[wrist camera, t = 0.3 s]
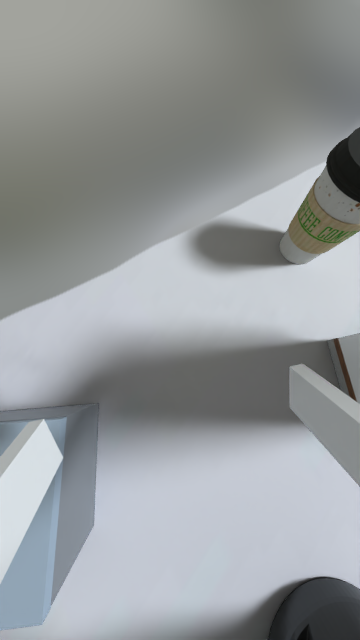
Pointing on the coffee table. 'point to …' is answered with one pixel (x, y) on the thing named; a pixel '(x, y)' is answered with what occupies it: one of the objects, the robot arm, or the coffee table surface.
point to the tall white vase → (347, 364)
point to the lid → (33, 545)
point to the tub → (71, 480)
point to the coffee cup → (327, 206)
